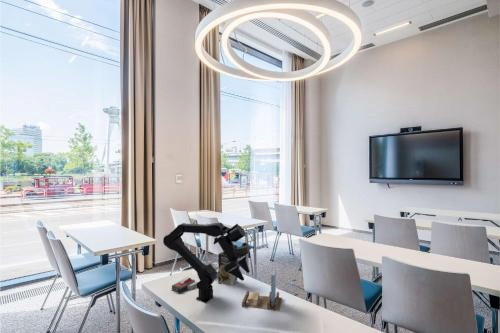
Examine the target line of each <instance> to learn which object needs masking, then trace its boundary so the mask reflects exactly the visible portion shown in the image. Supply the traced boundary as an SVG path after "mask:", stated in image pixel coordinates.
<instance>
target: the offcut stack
mask: <svg viewBox="0 0 500 333" xmlns="http://www.w3.org/2000/svg"><path fill="white" fill-rule="evenodd" d="M259 296H260V292H255V291H249V296H248V298H247V301H246V305H252V306H257V304H258V300H259Z"/></svg>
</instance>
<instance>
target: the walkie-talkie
mask: <svg viewBox="0 0 500 333" xmlns="http://www.w3.org/2000/svg"><path fill="white" fill-rule="evenodd" d="M198 282H199V281H197V282H196V281H195V279H192V278H191V277H189V276H187V277H184V278H182V280H180V281H178V282H175V283H173V284H172V285H171V291H173V292H175V293H178V294H180V293H183V292H185V291H187V290H193V289H195V288H197V286H196V284H197V283H198Z"/></svg>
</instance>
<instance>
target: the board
mask: <svg viewBox="0 0 500 333" xmlns="http://www.w3.org/2000/svg"><path fill="white" fill-rule="evenodd" d="M276 272H277V271H276V269H275V270H274V269H272V272H271V273H270V274H271V275H270V283H271V285H270V291H271V306H275V300H276V294H277V291H276V290H277V289H276V287H277V286H276V283H277V280H276V279H277V278H276V277H277V274H276Z"/></svg>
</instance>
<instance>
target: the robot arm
mask: <svg viewBox="0 0 500 333" xmlns="http://www.w3.org/2000/svg"><path fill="white" fill-rule="evenodd" d="M206 224H207V223H206ZM185 233H187V234H189V233H191V234H205V235H206V234H207V235H208V237H213V238H214V241H213V245H215V244H217V243H218V245H219V247H220V248H221V250H222V252H224V253H223V255H226V256H227V258H228V263H227V264H226V265H225V266H224V270H225V272H226V273H227V272H228V273H230V274H232V275H234V276H236V277H237V279H239V280H240V281H245V278H244V275H243V273H242V271H241V269H242V270H244V271H245V272H246V274H249V273H250V272H251V271H250V268H249V266H248V260H247V259H248V255H249V254H250V253H251V249H250V247H251V246H250V245H249V244H248V243H247V242H246V241H245V242H243V243H242V245H240V246H238V245H237V244H234V243H236V242H238V241H239V240H241V239H243V238H244V237H246V232H245V230H244V228H243V227H242V226H240V225H239V223H236V224H234V225H233V226H232V227H231V228H230V227H228V226H225V225H224V223H222V222H219V221H218V222H211V223H208V224H207V225H205V224H203V223H202V224H201V223H197V224H196V223H185V222H182V223H180V224H178V225H177V226H176V227H175V228H174V229H173V230H172V231H171V232H169V234H167V235H164V237H163V242H162V243H163V245H164V246H165V247H166V248H168V250H171V251H174V252H176V253H177V254H178V255H179V256H180V257H181V258H183V260H184V261H185V262H186V263H187V264H188V265H189V266H190V267H191V268H192V269H193V270H194V271H195V272H196V274H197V277H198V280H199V281H197V282H198V283H197V284H196V286H197V287H196V288H197V289H198V296H197V297H196V299H195V300H198V301H201V302H203V303H209V301H211V300H212V299H213V298H214V289H213V285H212V284H214V282H215V281H216V279H218V271H216V269H215V268H213V267H212V265H211V264H209V265H205V264H203V263H202V262H203V261H201V260H200V259H199V258H198V257H197V256H196V254H194V253H193V252H192V251H191V250H190V248H188V246H186V245H185V244H184V241H183V238H182V236H183V235H184V234H185ZM233 242H234V243H233Z"/></svg>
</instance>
